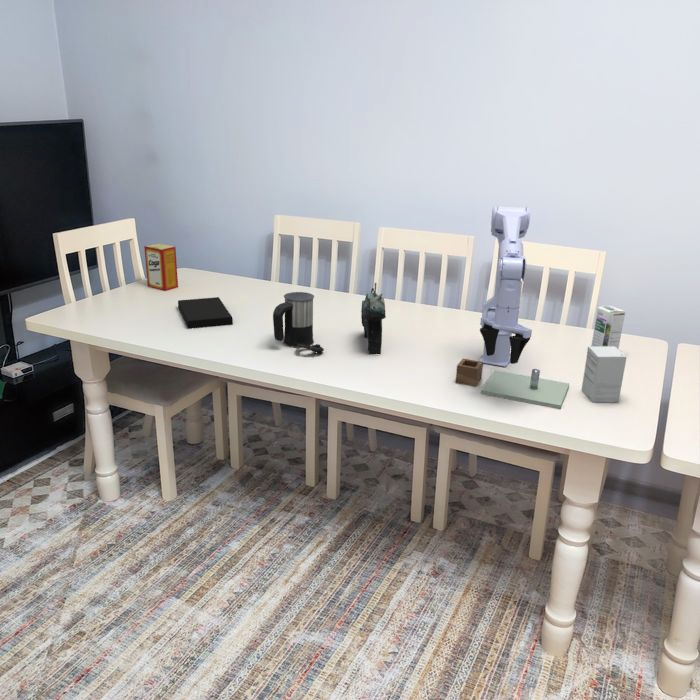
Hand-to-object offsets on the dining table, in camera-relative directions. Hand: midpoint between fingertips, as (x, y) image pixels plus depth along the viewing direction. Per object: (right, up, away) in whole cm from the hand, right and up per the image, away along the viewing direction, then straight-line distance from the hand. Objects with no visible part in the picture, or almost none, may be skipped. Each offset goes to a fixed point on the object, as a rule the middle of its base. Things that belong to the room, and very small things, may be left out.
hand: (501, 358), depth 173 cm
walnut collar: (-6, -6, +12) cm, 15 cm away
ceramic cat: (-32, +4, +36) cm, 48 cm away
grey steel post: (+10, -9, +7) cm, 15 cm away
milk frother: (-52, +3, +33) cm, 62 cm away
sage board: (+8, -8, +7) cm, 14 cm away
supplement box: (+26, -10, +5) cm, 28 cm away
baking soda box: (-109, +26, +89) cm, 143 cm away
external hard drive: (-87, +13, +58) cm, 105 cm away
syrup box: (+38, +1, +33) cm, 50 cm away
